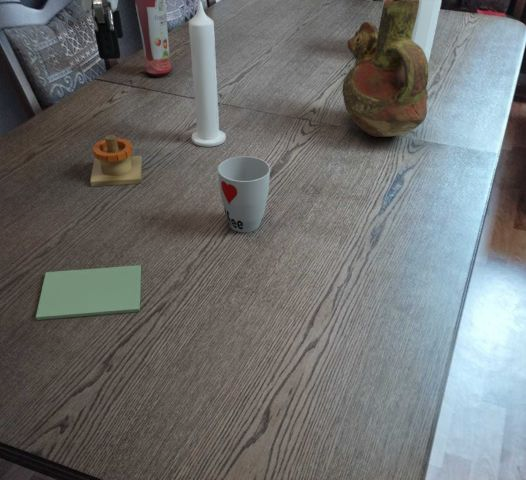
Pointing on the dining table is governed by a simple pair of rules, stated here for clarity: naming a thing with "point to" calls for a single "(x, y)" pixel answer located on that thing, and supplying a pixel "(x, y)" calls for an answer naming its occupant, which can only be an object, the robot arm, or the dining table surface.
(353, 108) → the ceramic vessel
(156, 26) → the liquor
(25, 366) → the dining table surface
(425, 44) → the container
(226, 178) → the cup
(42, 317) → the mat
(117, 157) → the ring
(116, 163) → the stand
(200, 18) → the candle
